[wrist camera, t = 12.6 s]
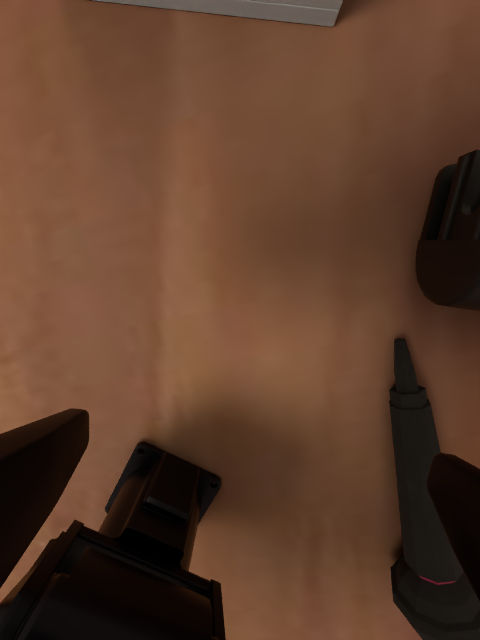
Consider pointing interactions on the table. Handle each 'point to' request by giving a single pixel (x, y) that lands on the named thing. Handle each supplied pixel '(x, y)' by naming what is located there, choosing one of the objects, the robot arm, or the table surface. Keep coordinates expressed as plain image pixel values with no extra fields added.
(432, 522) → the microphone
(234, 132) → the table surface
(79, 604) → the robot arm
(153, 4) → the grey hollow block
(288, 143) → the table surface
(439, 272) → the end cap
